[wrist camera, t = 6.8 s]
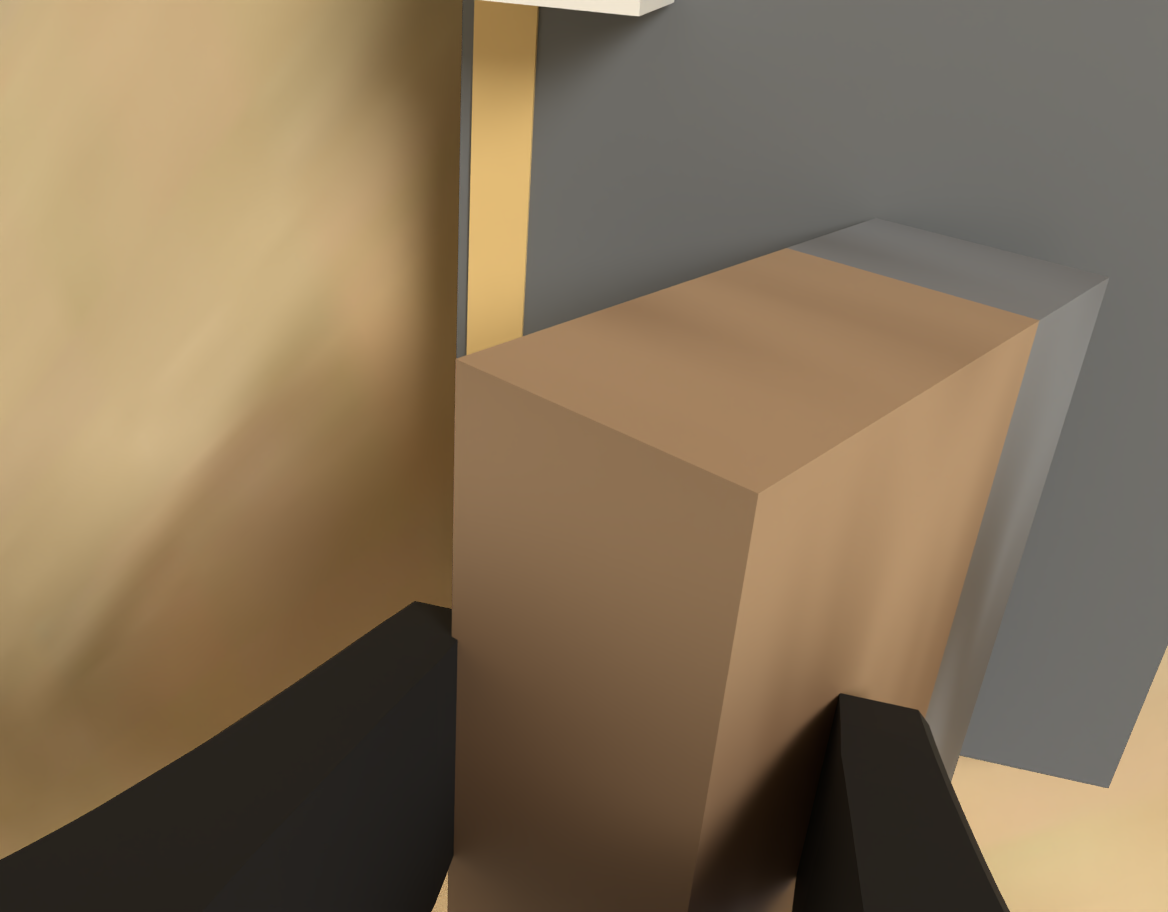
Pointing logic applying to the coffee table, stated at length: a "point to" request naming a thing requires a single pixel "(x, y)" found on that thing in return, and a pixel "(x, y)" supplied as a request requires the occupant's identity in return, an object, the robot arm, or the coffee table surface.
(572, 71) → the switch board
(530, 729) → the bar
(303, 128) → the coffee table surface
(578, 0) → the tab
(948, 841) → the robot arm
